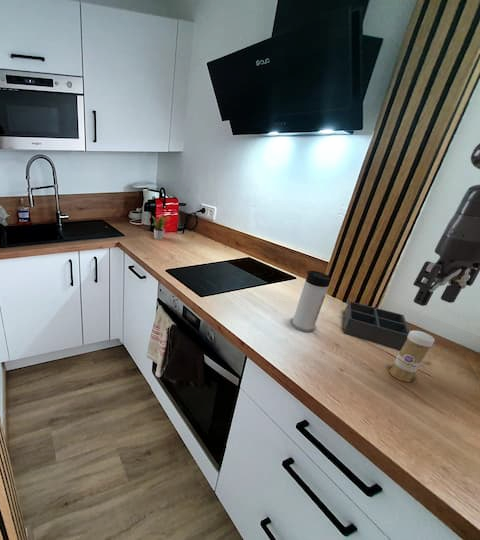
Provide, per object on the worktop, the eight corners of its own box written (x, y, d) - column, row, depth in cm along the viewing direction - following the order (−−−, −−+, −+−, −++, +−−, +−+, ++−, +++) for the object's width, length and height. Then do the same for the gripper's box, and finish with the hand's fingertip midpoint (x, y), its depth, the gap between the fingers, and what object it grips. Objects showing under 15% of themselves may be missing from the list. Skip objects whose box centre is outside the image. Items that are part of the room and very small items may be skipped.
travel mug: (288, 320, 100) (304, 268, 92) (308, 323, 99) (327, 270, 91) (294, 330, 94) (312, 276, 86) (316, 333, 93) (336, 278, 85)
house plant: (174, 242, 179) (177, 216, 172) (154, 243, 175) (156, 217, 169) (165, 235, 192) (167, 211, 185) (146, 236, 188) (147, 212, 181)
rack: (396, 328, 97) (403, 314, 95) (403, 351, 86) (411, 336, 84) (343, 314, 105) (348, 300, 103) (343, 333, 94) (349, 318, 92)
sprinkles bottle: (388, 376, 76) (410, 335, 71) (388, 367, 79) (409, 327, 74) (412, 385, 73) (436, 343, 68) (410, 375, 77) (434, 334, 71)
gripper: (467, 243, 56) (429, 314, 62) (517, 240, 58) (476, 308, 65) (422, 232, 62) (392, 297, 69) (470, 230, 65) (436, 292, 72)
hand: (433, 302), depth 67 cm, fingers open, 8 cm apart
